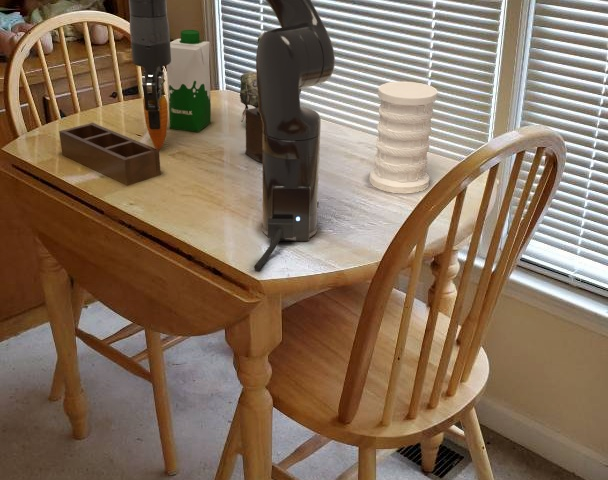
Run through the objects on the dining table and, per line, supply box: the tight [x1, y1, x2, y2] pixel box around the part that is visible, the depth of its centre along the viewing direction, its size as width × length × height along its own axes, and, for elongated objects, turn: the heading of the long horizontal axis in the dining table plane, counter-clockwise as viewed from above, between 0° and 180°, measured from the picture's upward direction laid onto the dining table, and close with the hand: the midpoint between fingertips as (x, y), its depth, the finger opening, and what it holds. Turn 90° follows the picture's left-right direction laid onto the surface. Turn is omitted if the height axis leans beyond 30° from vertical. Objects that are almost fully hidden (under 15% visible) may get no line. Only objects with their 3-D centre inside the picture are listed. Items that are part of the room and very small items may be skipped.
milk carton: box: [166, 29, 212, 133], centre depth 177 cm, size 9×9×20 cm
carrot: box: [142, 78, 169, 151], centre depth 164 cm, size 5×5×15 cm
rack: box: [58, 122, 162, 186], centre depth 160 cm, size 8×22×5 cm, turn 47°
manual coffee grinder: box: [244, 89, 302, 164], centre depth 161 cm, size 16×11×18 cm
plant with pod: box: [239, 31, 266, 123], centre depth 179 cm, size 8×11×20 cm
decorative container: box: [369, 81, 438, 194], centre depth 153 cm, size 12×12×18 cm
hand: (156, 124), depth 166 cm, fingers closed on carrot, 5 cm apart
